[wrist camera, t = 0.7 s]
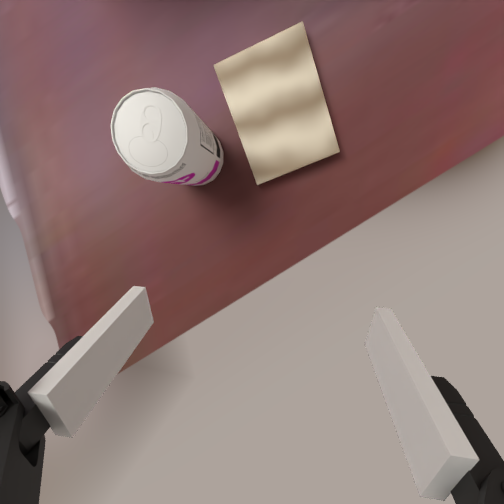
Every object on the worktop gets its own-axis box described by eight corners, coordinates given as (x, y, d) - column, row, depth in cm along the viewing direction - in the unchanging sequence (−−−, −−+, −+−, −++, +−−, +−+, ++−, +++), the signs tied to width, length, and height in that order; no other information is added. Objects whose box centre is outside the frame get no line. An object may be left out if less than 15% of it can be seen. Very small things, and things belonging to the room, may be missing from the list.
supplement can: (219, 191, 37) (187, 189, 22) (167, 179, 37) (101, 169, 22) (229, 134, 35) (201, 91, 20) (174, 122, 35) (106, 70, 20)
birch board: (216, 72, 33) (213, 65, 31) (300, 32, 31) (302, 21, 29) (257, 185, 36) (257, 184, 34) (335, 154, 34) (339, 151, 32)
